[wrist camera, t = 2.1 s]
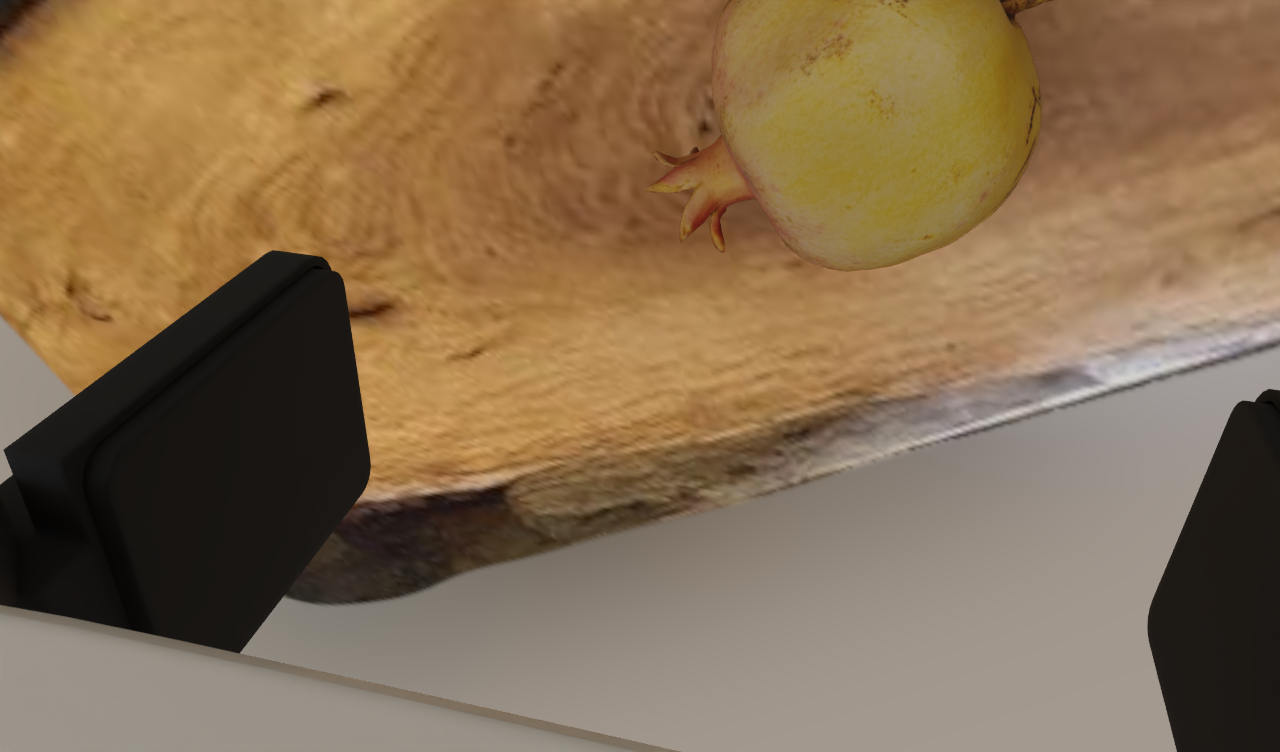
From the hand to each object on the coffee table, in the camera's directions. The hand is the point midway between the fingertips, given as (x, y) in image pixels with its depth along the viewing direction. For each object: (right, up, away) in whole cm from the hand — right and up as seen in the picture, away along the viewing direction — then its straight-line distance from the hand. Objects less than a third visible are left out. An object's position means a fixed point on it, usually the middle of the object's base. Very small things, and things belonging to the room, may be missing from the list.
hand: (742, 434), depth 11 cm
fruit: (+5, +8, +13) cm, 16 cm away
